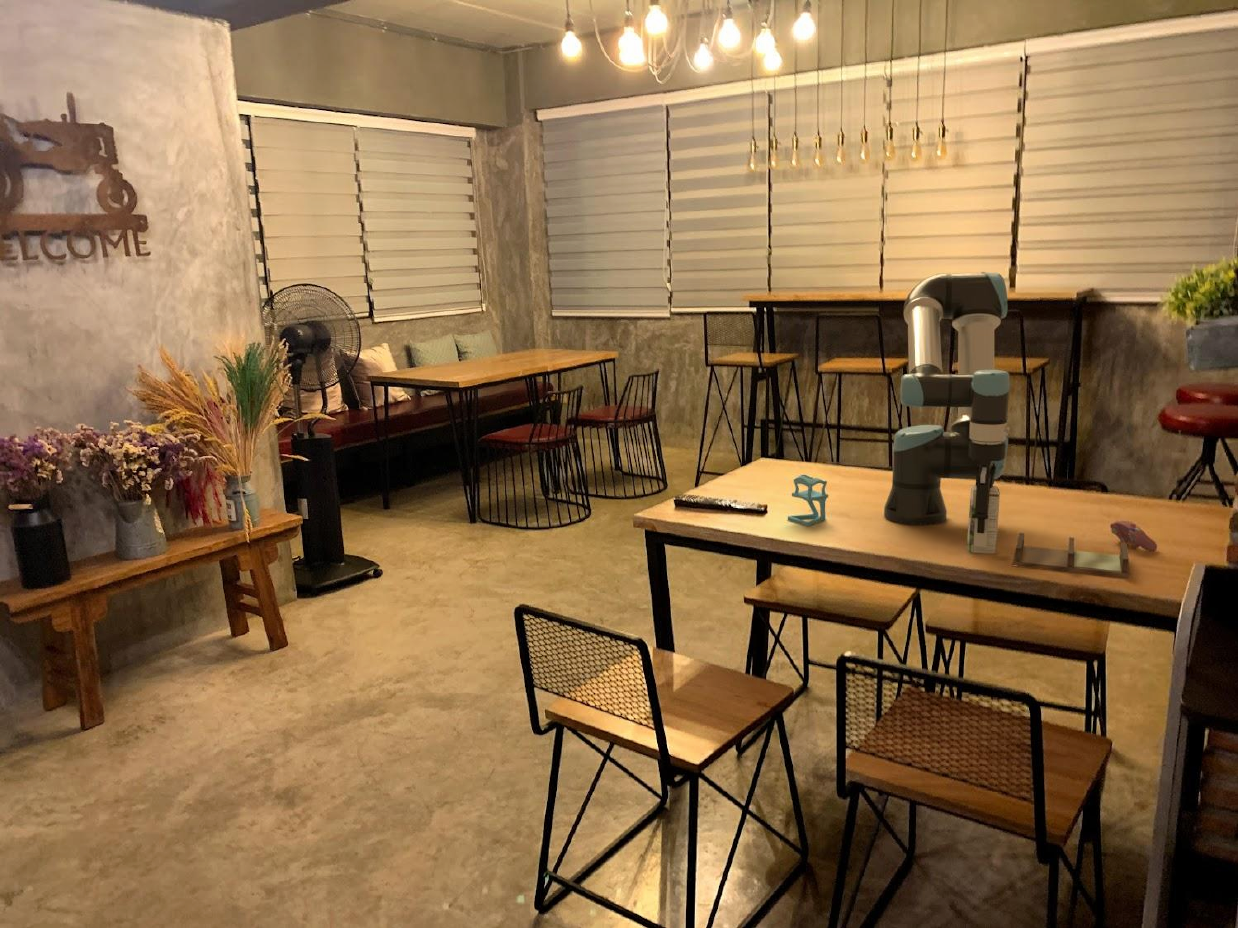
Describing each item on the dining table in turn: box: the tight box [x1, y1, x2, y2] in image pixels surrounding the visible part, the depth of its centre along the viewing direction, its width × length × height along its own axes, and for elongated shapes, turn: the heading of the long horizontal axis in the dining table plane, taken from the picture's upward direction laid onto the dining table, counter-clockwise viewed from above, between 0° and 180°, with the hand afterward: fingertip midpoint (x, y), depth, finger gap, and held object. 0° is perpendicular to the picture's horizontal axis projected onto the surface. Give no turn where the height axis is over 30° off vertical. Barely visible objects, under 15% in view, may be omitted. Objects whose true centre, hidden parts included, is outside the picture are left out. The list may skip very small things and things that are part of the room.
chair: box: [787, 474, 829, 527], centre depth 232 cm, size 8×8×12 cm
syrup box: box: [966, 484, 1001, 555], centre depth 204 cm, size 6×6×14 cm
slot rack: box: [1011, 532, 1131, 579], centre depth 195 cm, size 22×12×4 cm, turn 63°
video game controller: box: [1109, 519, 1158, 552], centre depth 205 cm, size 10×5×7 cm, turn 5°
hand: (981, 541), depth 205 cm, fingers closed on syrup box, 6 cm apart
